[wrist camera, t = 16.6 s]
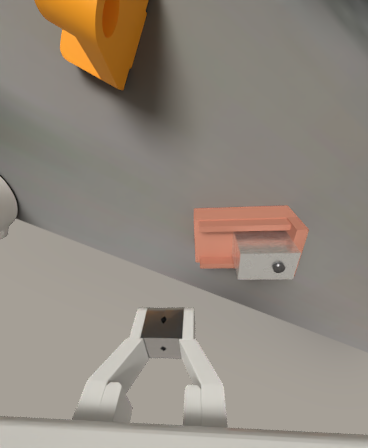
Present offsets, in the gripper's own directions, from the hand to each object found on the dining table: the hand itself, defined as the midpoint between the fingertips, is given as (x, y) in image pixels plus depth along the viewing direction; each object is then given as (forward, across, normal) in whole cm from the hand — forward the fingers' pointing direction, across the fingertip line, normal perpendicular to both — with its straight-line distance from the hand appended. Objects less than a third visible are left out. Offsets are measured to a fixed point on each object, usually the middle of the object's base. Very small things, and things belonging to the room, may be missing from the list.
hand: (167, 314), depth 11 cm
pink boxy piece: (+25, -9, +11) cm, 29 cm away
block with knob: (+21, -11, +11) cm, 26 cm away
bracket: (+25, +8, -18) cm, 32 cm away
